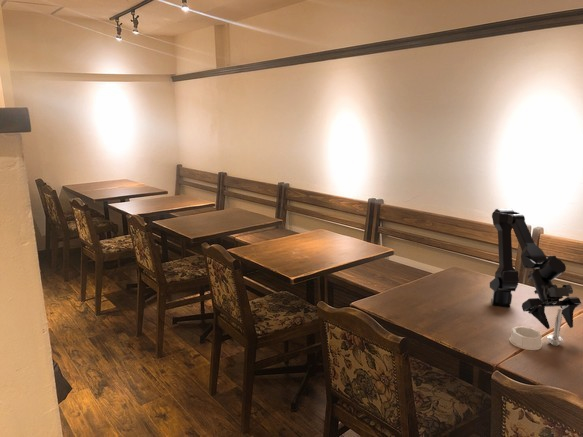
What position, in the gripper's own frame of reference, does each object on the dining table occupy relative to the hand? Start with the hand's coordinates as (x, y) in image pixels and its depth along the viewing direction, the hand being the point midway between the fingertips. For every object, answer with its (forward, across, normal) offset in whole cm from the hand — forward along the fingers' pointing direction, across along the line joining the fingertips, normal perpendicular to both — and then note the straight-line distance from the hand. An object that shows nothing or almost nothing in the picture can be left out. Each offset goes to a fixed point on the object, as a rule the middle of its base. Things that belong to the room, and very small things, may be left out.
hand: (560, 328), depth 157 cm
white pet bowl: (+2, -10, +7) cm, 12 cm away
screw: (+4, 0, +6) cm, 7 cm away
